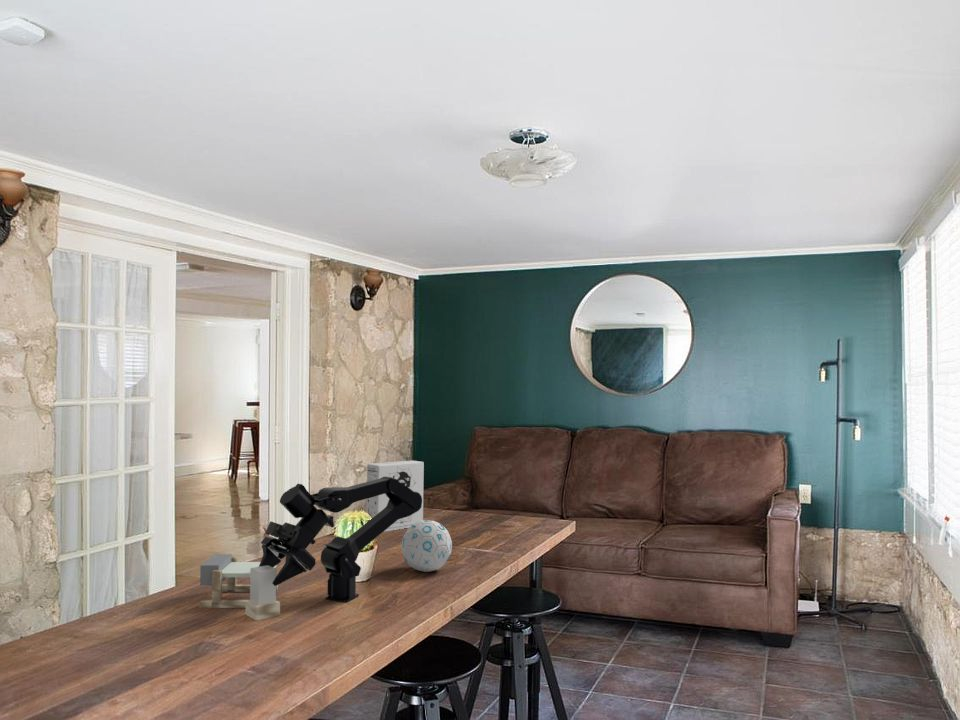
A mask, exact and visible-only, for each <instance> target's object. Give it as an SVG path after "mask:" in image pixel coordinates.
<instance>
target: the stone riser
mask: <svg viewBox="0 0 960 720" xmlns="http://www.w3.org/2000/svg"><path fill="white" fill-rule="evenodd" d="M244 611H245V613H244V614H245V616H247V617H249V618H251V619H252V620H255V621H261V620H262V621H263V620H266V619H270V618H275V617H280V616H281V602H280V601H278V600H276V602H274V603H269V604H264V605H259V606H258V605H256V604H254V603H252V602H250V601H246V607H245V609H244Z"/></svg>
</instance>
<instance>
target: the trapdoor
mask: <svg viewBox="0 0 960 720" xmlns="http://www.w3.org/2000/svg"><path fill="white" fill-rule="evenodd" d="M260 562H261V561H237V562H232V554H231V553H229V554H227V553H226V554H223V553H222V554H216V553H215V554H213V555H212V556H211V557H209V558H207V560H206V561H204V562H202V564H200V569H199V571H200V572H199V573H200V574H199V575H200V577H199V578H200V579H199V580H200V581H199V586H212V571H213V570H222V583H223V582H224V581H225V580H226V579H228V577H237V578H250V571H251V568H254V567H259V565H260ZM277 566H278V564H277V565H276V566H275V567H273V568H276V567H277Z"/></svg>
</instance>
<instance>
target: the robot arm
mask: <svg viewBox="0 0 960 720" xmlns="http://www.w3.org/2000/svg"><path fill="white" fill-rule="evenodd" d="M382 494H386V496H387V497H388V498H389V501H388V504H387V506H386V507H385V508H384V509H383V510H382V511H381V512H379V513H378V514H377V515H376V516H374V517H373V518H372V519H371V520H369V521H368V522H367V523H366V522H365V524H363V525H362V526H360V527H359V528H358V529H357V530H355V531H354V532H353V533H352V534H350V536H348V537H345V538H344V537H341V536H336V537H334V538H333V539H332V540H331V541H330V542H329V543H326V544H324V546H325V547H324V548H323V549H322V551H321V554H320V563H321V565H322V566H323V567H324V569H325V572H326V573H327V574H328V573H329V574H328V579H327V586H326V587H327V589H326V590H327V591H326V593H327V596H326V597H325V598H324V599H325V600H328V601H333V602H334V601H335V602H344V603H347V602H349V601H352V600H354V599H355V598H357V597H359V595H360V594H359V593H356V591H357V589H356V588H357V587H356V584H357V581H356V579H357V577H358V576H359V575H360V573H361V569H362V568H361V566H360V565H359V564H358V563H357V562H356V561H357V559H358V557H359V554H360V552H361V551H362V550H364V548H366V547H367V546H368V545H370V543H372V542H373V541H374V540H375V539H377V538H378V537H379V536H380V535H382V534H383V533H385V532H384V531H385V530H386V529H387V528H388V527H390V526H391V525H392V524H393V523H395V522H396V521H397V520H399V519H401V518H405V517H408V516H410V515H412V514H414V513H416V512H417V511H419V510H420V509H421V507H422V497H421V495H420V494H419V493H418V492H415V491H412V490H411V489H409V488H408V487H406V486H405V485H403V484H401V483H400V482H399V481H398V480H396V479H395V478H392V477H386V476H385V477H382V478H380V479H376V480H373V481H369V482H367V481H365V482H362V483H361V482H360V483H359V484H358V483H357V484H354V485H351V486H345V487H343V486H341V487H340V486H336V487H335V486H334V487H333V486H332V487H323V488H321V489H319V490H318V492H316V493H313V494H311V493H310V491H308V489H307V488H306V487H305V485H303V484H302V483H297V484H296V485H295V486H292V487H291V488H289V489H287V490H286V491H285V492H283V493H282V495H281V497H280V499H279V503H280V505H282V506H283V507H284V508H285V510H286V511H288V513H290V514H291V516H292V517H293V518H295V519H300V520H299V521H298V522H297V523H296V524H292V523H289V522H284V523H283V524H280V523H277V522H273V521H270V522H269V523H268V526H267V528H266V530H265V533H264V534H266V535H268V536H265V537H264V538H263V539H262V540H261V542H260V544H261V548H262V557H261V560H260V561H259V562H260V565H259V567H260V566H266V565H268V566H271V567H275V566H276V565H277V566H278V565H279V564H280V563H281V562H282V559H284V558H285V563H284V564H283V566H282V567H281V569H280V570H279V572H278V573H277V574H276V578H275V579H274V581H273V583H272V584H273V585H274V586H277V585H278V586H279V585H280V584H282V583H284V582H286V581H288V580H290V579H292V578H294V577H296V576H298V575H301V574H302V573H306V572H307V570H308V571H310V572H311V570H313V569H314V567H316V558H315V557H314V556H313V555H312V554H311V553H310V552H309V550H307V548H308V547H309V546H310V545H313V546H314V545H315V543H316V540H315V538H316V537H317V535H319V533H320V532H321V531H322V529H323V528H324V527H325V526H326V527H330V528H334V527H335V523H334V516H333V515H328V514H327V513H326V512H330V513H336V514H337V513H340V512H342V511H344V510H346V509H348V508H350V507H351V506H352V504H354V503H357V502H359V501H364V500H367V498H371V497H374V496H378V495H382ZM316 506H317V507H318V508H319V509H318V508H317V507H316ZM325 511H326V512H325ZM277 566H276V567H277ZM276 567H275V568H276Z"/></svg>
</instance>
